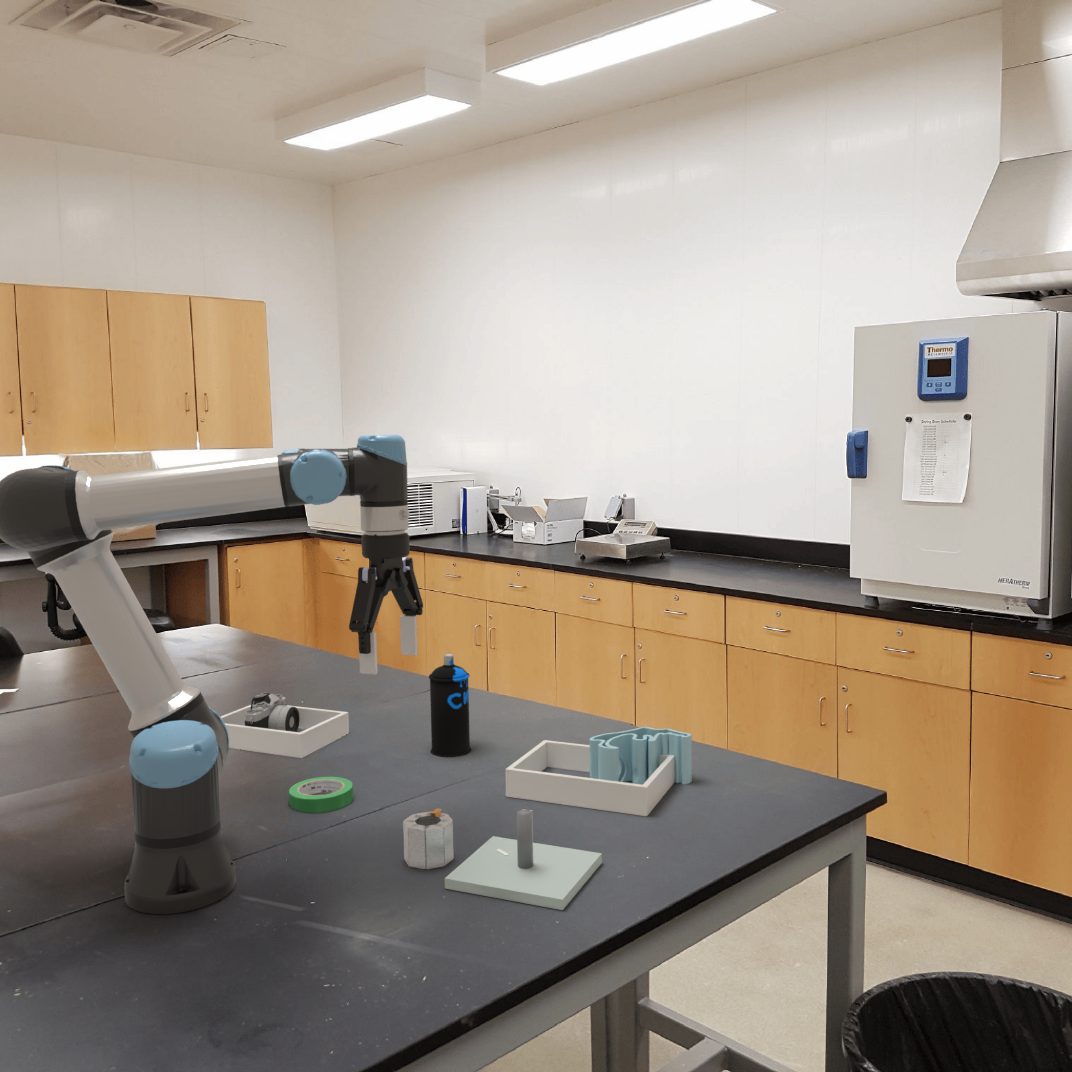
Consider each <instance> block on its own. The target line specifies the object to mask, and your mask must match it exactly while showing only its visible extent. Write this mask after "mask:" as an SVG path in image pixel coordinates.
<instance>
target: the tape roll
mask: <svg viewBox="0 0 1072 1072" xmlns="http://www.w3.org/2000/svg"><path fill="white" fill-rule="evenodd" d="M353 787H354V786H353V782H352V781H351V780H349V779H347V778H343V777H339V776H320V777H319V776H318V777H313V778H312V777H311V778H307V779H305V780H302V781H299V782H297V783H295V784H293V785H292V786H291V787H290V788H289V790H288V798H289V799H288V801H289V806H290V807H291V808H292V809H294V811H298V812H302V813H309V814H310V813H313V814H314V813H315V814H317V813H327V812H331V811H336V810H339V809H343V808H345V807H347V806H348V805H350V804H351V803H352V802H353V801H354V788H353ZM318 793H319V794H318ZM321 793H322V794H321ZM323 793H325V794H323Z"/></svg>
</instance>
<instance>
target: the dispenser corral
mask: <svg viewBox="0 0 1072 1072" xmlns="http://www.w3.org/2000/svg"><path fill="white" fill-rule="evenodd" d="M546 768H553V769H554V768H555V769H562V770H570V771H578V772H585V773H590V744H582V743H581V744H580V743H575V742H574V743H573V742H563V741H554V740H548V739H544V740H542V741H541V742H540V743H539V744H537V745H536V746H534V747H533V748H531V749H530V750H529V751H528V752H526V753H525V754H524V755H522V756H521V757H520V758H518V759H517V760H515V761H514V762H513V763H512V764H510V765H508V767H506V768H505V797H507V798H514V799H521V800H527V801H534V802H542V803H549V804H550V803H551V804H558V805H564V806H571V807H577V808H585V809H590V810H591V809H593V810H600V811H606V812H613V813H621V814H628V815H634V816H635V815H636V816H641V817H648V816H649V814H650V813H651V812H652V811H653V810H654V808H655V807H656V806H657V804H659V802H660V801H661V800H662V799H663V797H664V796H665V795H666V793H667V792H668V791H669V790H670V788H672V786H673V785H674V784H675V783H676V782H675V755H669V754H667V755H662V754H660V755H659V767H658V768H657V769H656V771H655V772H654V773H653V774H652V775H651V776H650V777H649V778H648V779H647V781H646V782H645V783H644V784H643V785H641V784H633V782H620V781H619V782H617V781H609V780H602V779H594V778H590V777H586V776H585V777H584V776H576V775H570V774H563V773H555V772H554V773H553V772H546V771H544V770H546ZM619 770H620V762H619Z"/></svg>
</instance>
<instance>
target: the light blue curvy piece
mask: <svg viewBox="0 0 1072 1072" xmlns="http://www.w3.org/2000/svg"><path fill="white" fill-rule="evenodd" d="M692 735H693V734H692V733H689V732H684V731H679V730H674V729H672V728H654V727H649V726H642V727H637V728H633V729H628V730H623V731H617V732H607V733H602V734H599V735H594V736H591V737H590V738H589V745H590V772H589V778H594V779H602V780H609V781H617V782H625V783H628V782H632V783H633V784H641V785H643V784H644V783H645V782H646V781H647V779H648V778H649V777H650V776H651V775H652V774H653V773H654V772H655V771H656V769H657V768H658V767H659V755H660V754H662V755H667V754H669V755H675V782H674V783H676V784H679V783H680V784H681V785H689V784H691V783H692V781H693V780H692V776H693V775H692V771H693V770H692V763H693V762H692V761H693V760H692V759H693V758H692V756H693V754H692V751H693V750H692V748H693V745H692V743H693V742H692V741H693V740H692V739H693V737H692ZM619 762H620V770H619ZM619 780H620V781H619Z"/></svg>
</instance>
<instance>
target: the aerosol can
mask: <svg viewBox="0 0 1072 1072" xmlns="http://www.w3.org/2000/svg"><path fill="white" fill-rule="evenodd" d="M454 658H455V657H454V654H453V653H447V654H443V664H442V665H441V666H438V667H436V668H434V670H433V671H432V672H431V673H430V674H429V675H428V679H429V690H430V691H429V692H430V693H429V694H430V695H429V696H430V699H429V700H430V727H431V729H430V730H431V731H430V733H431V735H430V736H431V737H430V738H431V748H430V754H431V755H433V756H436V757H440V758H457V757H458V758H459V757H463V756H466V755H467V754H469V753H471V752H472V748H471V746H470V745H471V743H470V741H471V740H470V738H471V737H470V735H471V734H470V700H469V699H470V697H469V696H470V695H469V694H470V693H469V679H470V676H471V675H470V674H469V672H467V671H466V670H465V669H464V668H463V667H462V666H459V665H456V664H455V663H454Z"/></svg>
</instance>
